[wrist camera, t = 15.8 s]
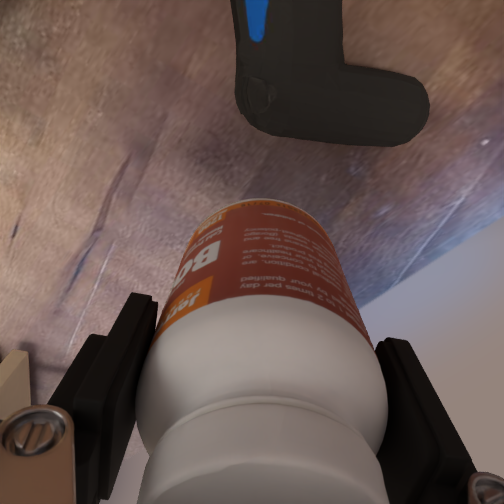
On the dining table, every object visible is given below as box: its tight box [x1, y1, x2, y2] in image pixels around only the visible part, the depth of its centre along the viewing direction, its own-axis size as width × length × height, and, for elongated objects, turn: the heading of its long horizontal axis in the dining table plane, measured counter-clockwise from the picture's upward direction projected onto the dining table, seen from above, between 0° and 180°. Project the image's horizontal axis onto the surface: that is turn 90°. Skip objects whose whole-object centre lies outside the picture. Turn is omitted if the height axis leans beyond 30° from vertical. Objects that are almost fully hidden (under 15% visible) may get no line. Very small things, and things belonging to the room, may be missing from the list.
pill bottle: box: [135, 198, 389, 504], centre depth 12 cm, size 6×6×11 cm
